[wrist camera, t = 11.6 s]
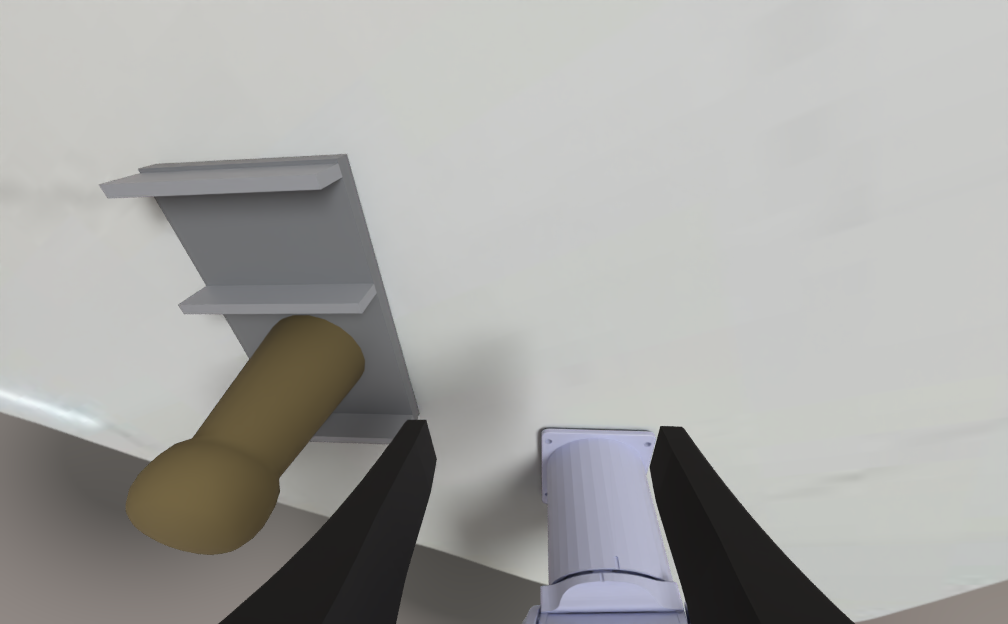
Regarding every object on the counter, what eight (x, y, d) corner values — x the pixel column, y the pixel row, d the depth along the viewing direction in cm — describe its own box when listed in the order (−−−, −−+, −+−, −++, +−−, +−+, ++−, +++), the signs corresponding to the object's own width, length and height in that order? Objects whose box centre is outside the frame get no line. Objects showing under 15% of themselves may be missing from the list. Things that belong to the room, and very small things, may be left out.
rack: (419, 413, 27) (407, 448, 25) (293, 410, 28) (269, 443, 26) (346, 154, 17) (314, 169, 15) (155, 163, 18) (95, 179, 16)
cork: (320, 398, 26) (199, 581, 17) (249, 337, 23) (59, 516, 14) (384, 370, 24) (286, 562, 15) (315, 299, 21) (142, 480, 12)
